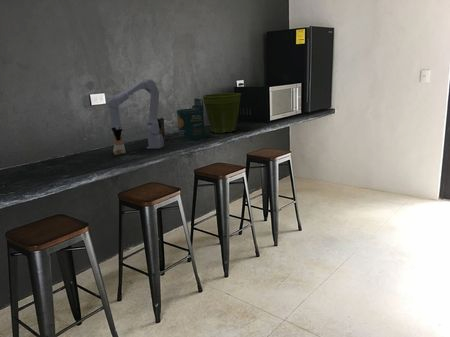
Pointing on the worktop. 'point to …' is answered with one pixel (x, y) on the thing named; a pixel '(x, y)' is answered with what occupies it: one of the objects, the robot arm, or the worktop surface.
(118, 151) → the tower base
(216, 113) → the plant pot
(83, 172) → the worktop surface
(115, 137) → the terracotta cube
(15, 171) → the worktop surface
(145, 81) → the robot arm
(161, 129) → the coffee box
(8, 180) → the worktop surface
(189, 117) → the donation box
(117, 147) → the tower top
